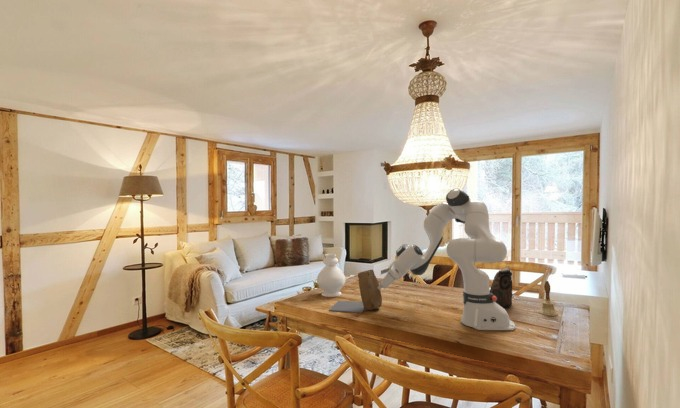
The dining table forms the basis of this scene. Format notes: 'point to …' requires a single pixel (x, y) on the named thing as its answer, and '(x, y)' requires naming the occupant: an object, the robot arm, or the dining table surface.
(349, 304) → the mat
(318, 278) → the decorative vase
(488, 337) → the dining table surface
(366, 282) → the block
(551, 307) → the hand bell
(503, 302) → the owl
